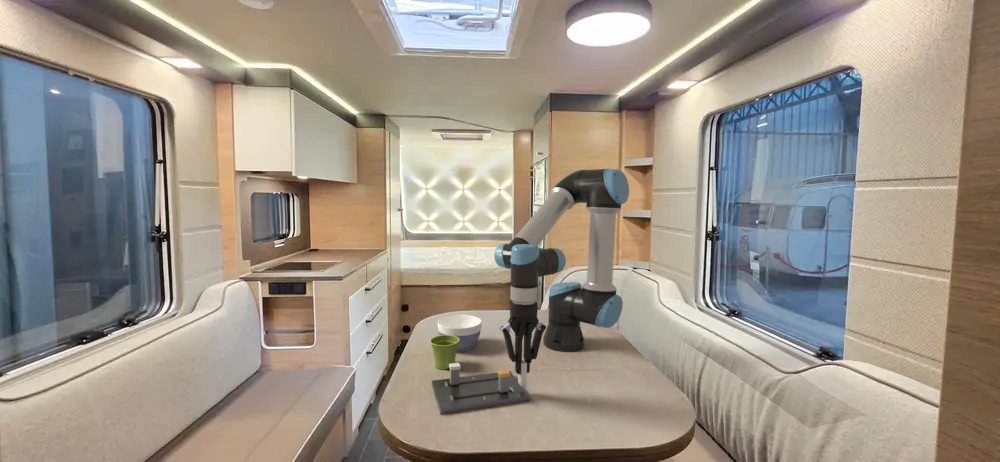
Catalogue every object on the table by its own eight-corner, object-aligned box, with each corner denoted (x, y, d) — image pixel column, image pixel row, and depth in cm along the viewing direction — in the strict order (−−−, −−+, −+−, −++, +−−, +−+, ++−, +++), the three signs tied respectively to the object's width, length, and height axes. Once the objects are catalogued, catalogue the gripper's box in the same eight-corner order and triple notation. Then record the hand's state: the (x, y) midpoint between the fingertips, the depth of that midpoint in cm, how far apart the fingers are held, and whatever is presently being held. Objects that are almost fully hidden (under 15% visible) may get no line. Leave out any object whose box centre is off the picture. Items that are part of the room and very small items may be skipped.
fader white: (458, 380, 116) (458, 362, 116) (460, 384, 114) (460, 366, 113) (448, 381, 115) (449, 363, 115) (450, 385, 113) (450, 367, 112)
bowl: (489, 344, 149) (490, 319, 149) (463, 359, 136) (463, 331, 135) (456, 336, 158) (456, 312, 157) (428, 348, 145) (428, 322, 144)
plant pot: (454, 373, 125) (454, 346, 124) (425, 370, 127) (425, 343, 126) (462, 361, 134) (463, 336, 133) (436, 358, 136) (436, 333, 135)
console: (509, 375, 124) (509, 369, 124) (529, 400, 109) (529, 394, 109) (431, 385, 117) (431, 379, 116) (440, 414, 101) (440, 407, 101)
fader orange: (506, 387, 112) (507, 369, 112) (509, 391, 110) (510, 372, 109) (497, 388, 111) (497, 370, 111) (500, 393, 109) (500, 374, 108)
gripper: (540, 296, 116) (538, 375, 118) (497, 299, 112) (495, 381, 114) (551, 302, 108) (549, 387, 110) (505, 306, 104) (504, 393, 106)
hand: (522, 384), depth 112 cm, fingers closed
